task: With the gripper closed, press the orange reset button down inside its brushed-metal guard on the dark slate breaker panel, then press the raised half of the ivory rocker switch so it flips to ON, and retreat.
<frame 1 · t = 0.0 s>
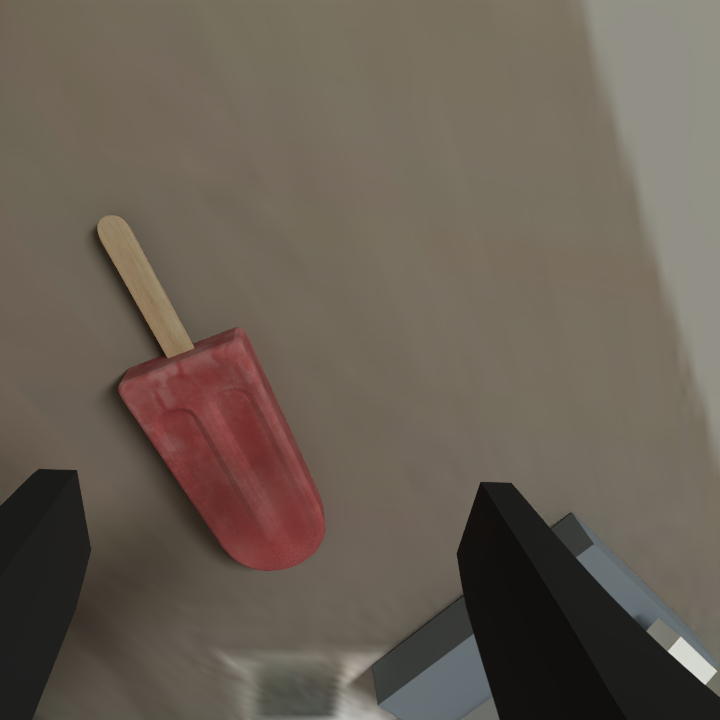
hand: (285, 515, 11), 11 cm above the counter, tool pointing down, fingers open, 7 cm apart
rocker: (657, 680, 25), point 4 cm above the counter, hinge at 14.0°
breaker panel: (544, 641, 28), on the counter
popsicle: (216, 399, 22), on the counter
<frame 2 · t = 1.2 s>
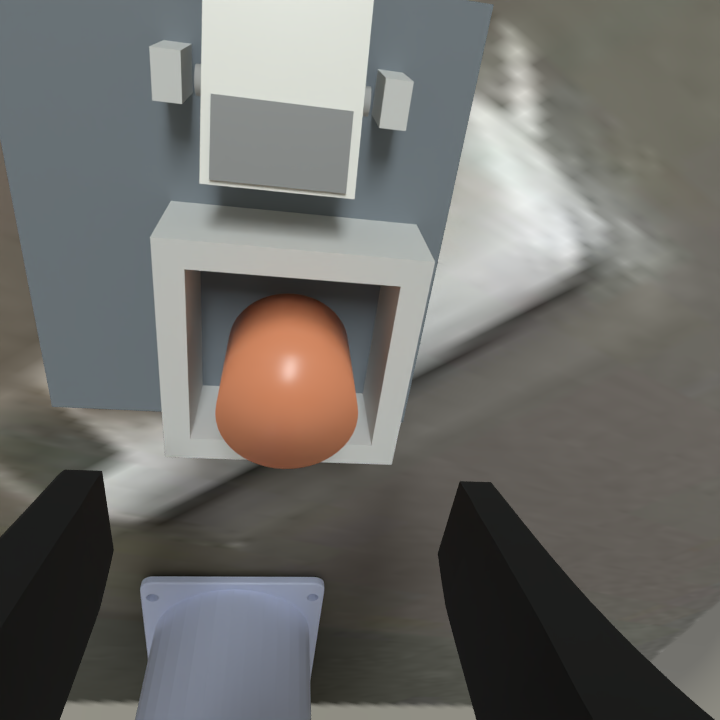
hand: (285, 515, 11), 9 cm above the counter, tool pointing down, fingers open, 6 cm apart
rocker: (284, 89, 12), point 4 cm above the counter, hinge at 14.0°
breaker panel: (244, 195, 17), on the counter
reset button: (288, 378, 14), point 5 cm above the counter, slide at 0.0 cm
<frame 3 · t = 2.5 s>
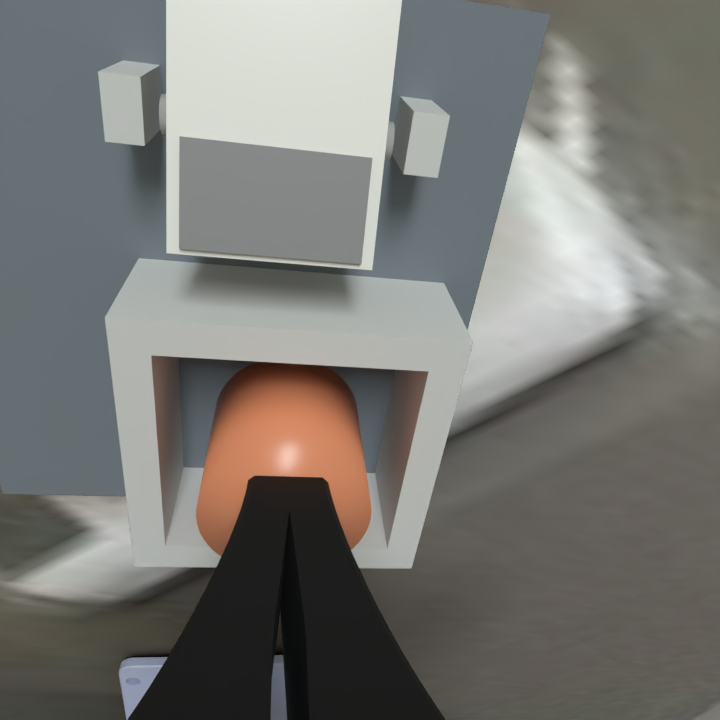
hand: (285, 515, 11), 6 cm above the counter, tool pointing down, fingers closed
rocker: (279, 127, 9), point 4 cm above the counter, hinge at 14.0°
breaker panel: (233, 242, 14), on the counter
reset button: (286, 461, 12), point 4 cm above the counter, slide at 0.6 cm
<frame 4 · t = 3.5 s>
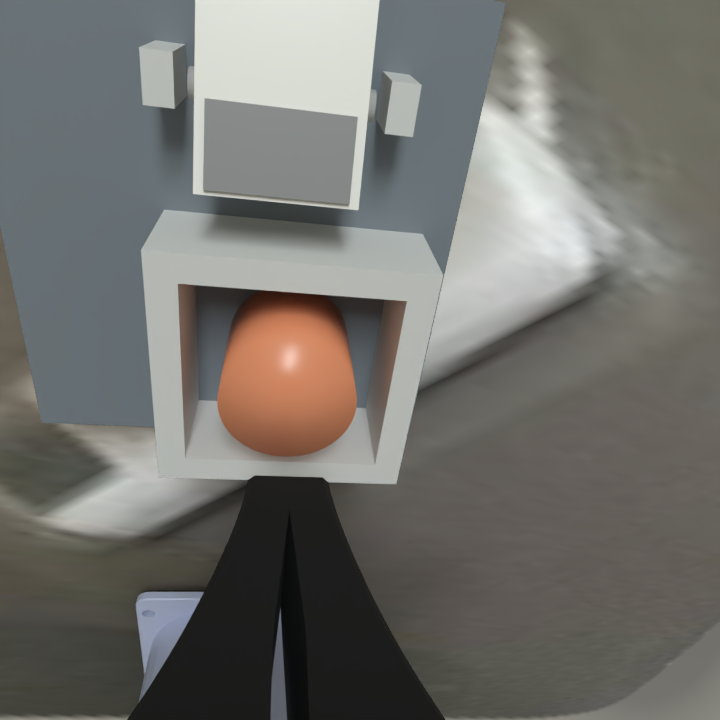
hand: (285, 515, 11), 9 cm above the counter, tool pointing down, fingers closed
rocker: (283, 93, 11), point 4 cm above the counter, hinge at 14.0°
breaker panel: (242, 202, 16), on the counter
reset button: (288, 368, 15), point 4 cm above the counter, slide at 1.2 cm
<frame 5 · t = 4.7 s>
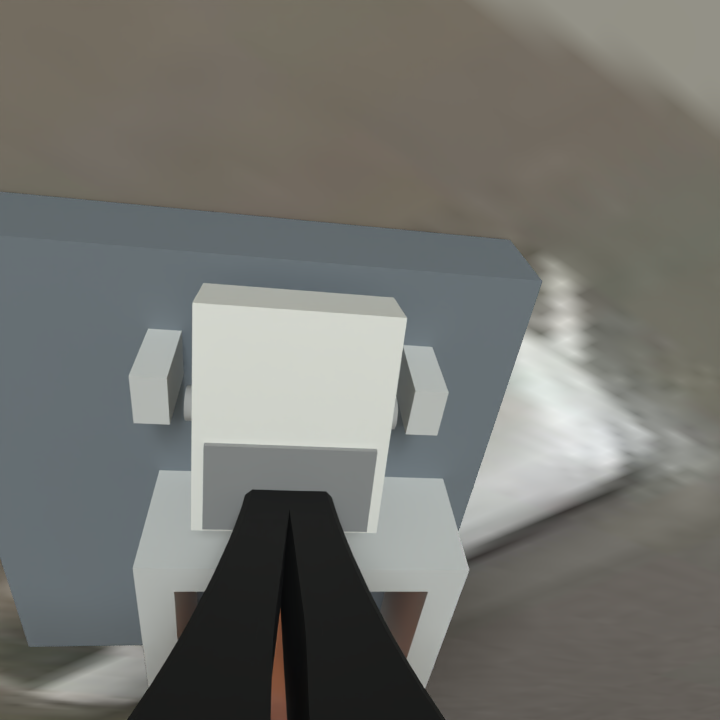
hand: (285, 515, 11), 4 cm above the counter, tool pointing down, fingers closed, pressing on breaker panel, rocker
rocker: (293, 414, 10), point 4 cm above the counter, hinge at 12.6°, touching gripper
breaker panel: (245, 424, 15), on the counter
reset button: (296, 629, 13), point 4 cm above the counter, slide at 1.2 cm
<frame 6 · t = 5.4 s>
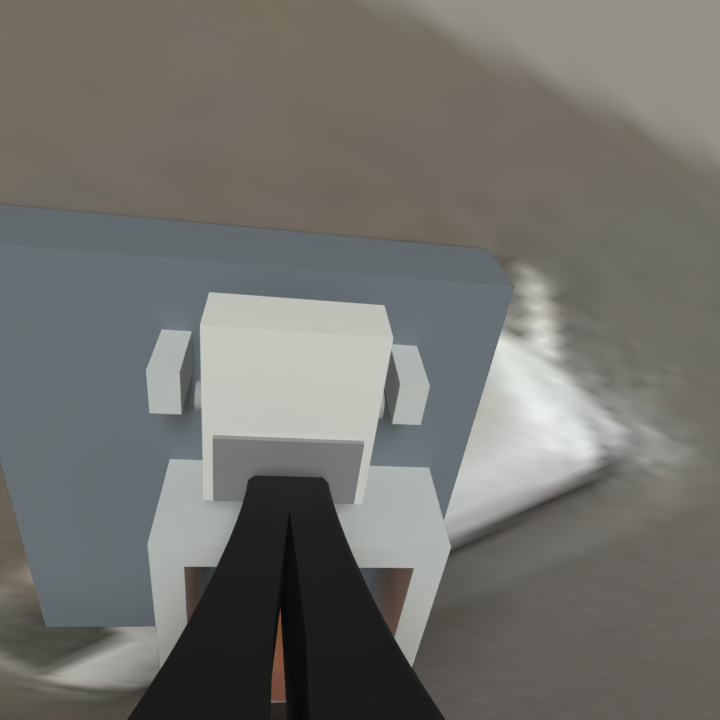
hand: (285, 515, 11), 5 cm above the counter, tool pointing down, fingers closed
rocker: (291, 407, 11), point 4 cm above the counter, hinge at 0.3°
breaker panel: (247, 419, 16), on the counter
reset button: (294, 606, 15), point 4 cm above the counter, slide at 1.2 cm
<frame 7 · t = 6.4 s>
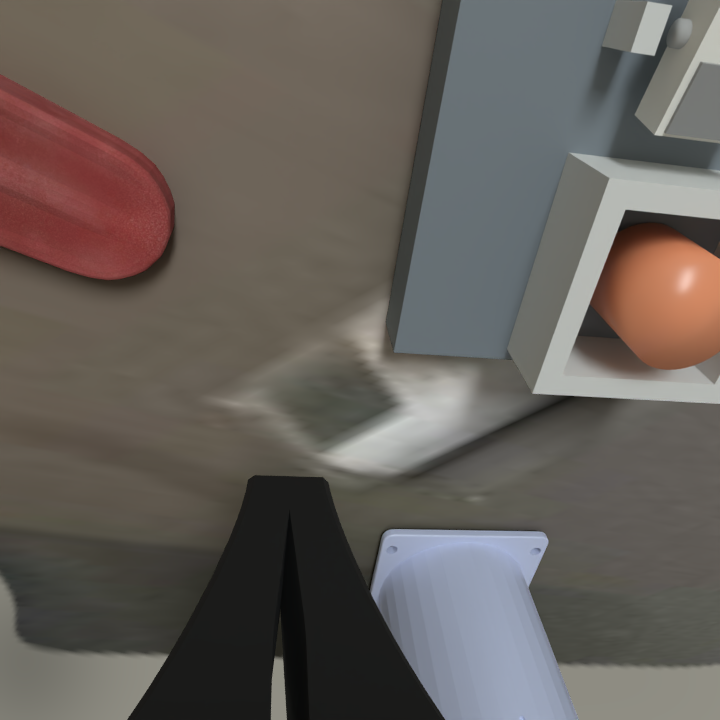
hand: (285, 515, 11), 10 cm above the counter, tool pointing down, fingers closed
breaker panel: (591, 152, 18), on the counter
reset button: (660, 294, 17), point 4 cm above the counter, slide at 1.2 cm
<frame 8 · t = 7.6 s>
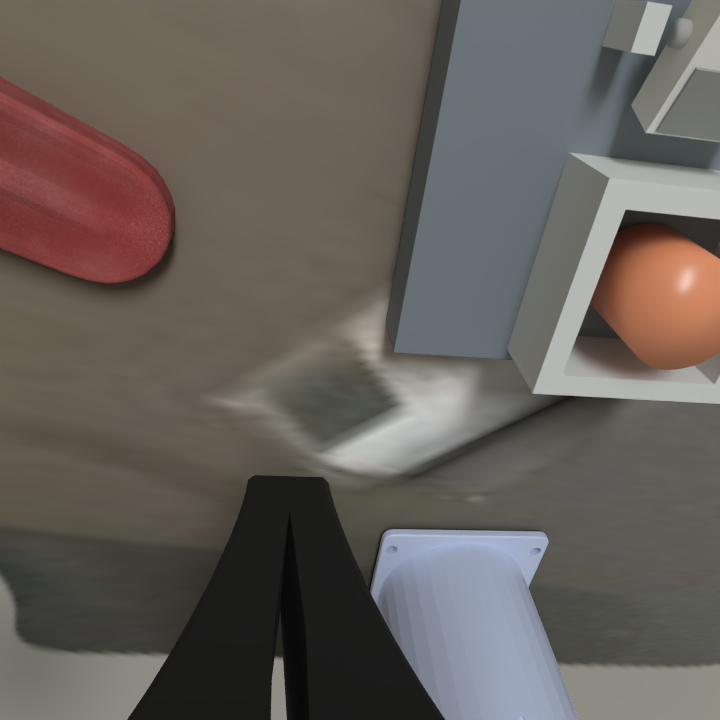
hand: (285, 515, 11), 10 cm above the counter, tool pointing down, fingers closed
breaker panel: (591, 152, 18), on the counter
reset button: (661, 294, 17), point 4 cm above the counter, slide at 1.2 cm
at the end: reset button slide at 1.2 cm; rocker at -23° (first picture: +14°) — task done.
